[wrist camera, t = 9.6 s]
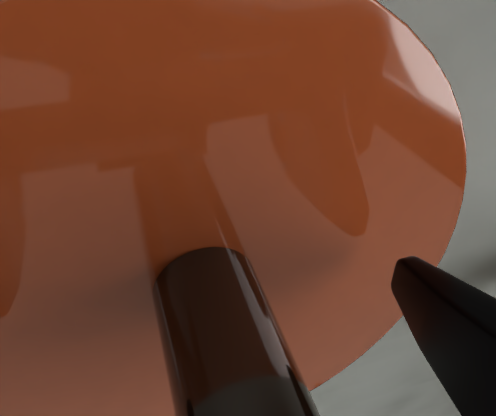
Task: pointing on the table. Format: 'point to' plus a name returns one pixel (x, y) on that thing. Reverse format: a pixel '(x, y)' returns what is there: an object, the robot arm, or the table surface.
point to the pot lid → (210, 199)
